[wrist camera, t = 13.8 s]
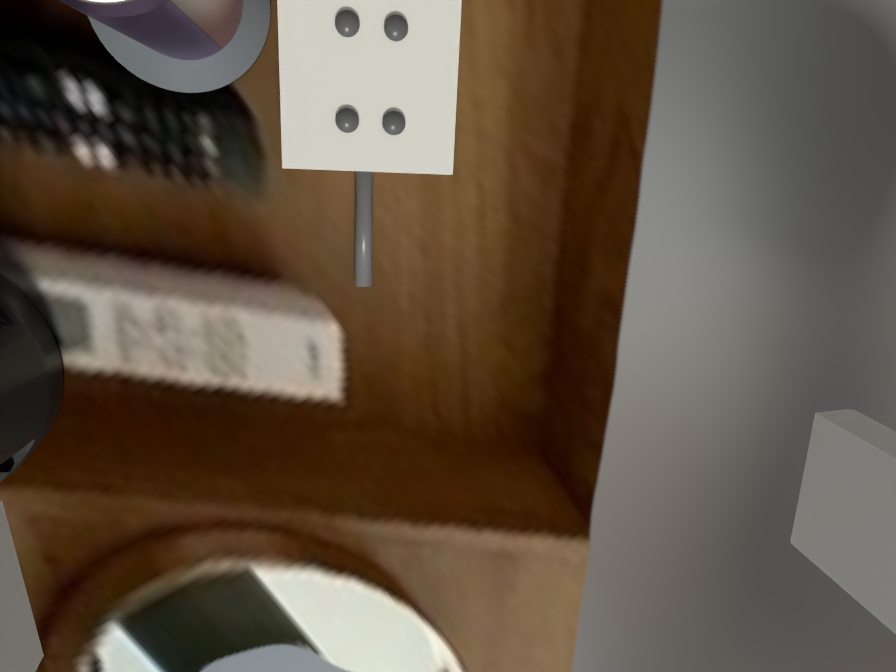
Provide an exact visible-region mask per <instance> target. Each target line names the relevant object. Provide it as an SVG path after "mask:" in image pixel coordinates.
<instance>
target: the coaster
mask: <svg viewBox="0 0 896 672" xmlns="http://www.w3.org/2000/svg"><path fill="white" fill-rule="evenodd" d="M88 17H89V16H88ZM270 19H271V5H270V0H243V9H242V17H241V21H240V24H239V27H238V29H237V32H236V33H235V35H234V37H233V38H232V40H231V41H230V42H229V43H228V44H227V45H226V46H225V47H224V48H223V49H222V50H220V51H219V52H217V53H216V54H214V55H212V56H210V57H207V58H203V59H199V60H179V59H174V58H170V57H167V56H165V55H162V54H160V53H158V52H156V51H154V50H152V49H150V48H148V47H147V46H145V45H143V44H141V43H139V42H137V41H135V40H133V39H131V38H129V37H128V36H126V35H124V34H122V33H120V32H118V31H116V30H114V29H112V28H110V27H108V26H107V25H105V24H103V23H101V22H99V21H97V20H95V19H93V18H91V17H89V20H90V22H91V24H92V27H93V29H94V30H95V32H96V34H97V36H98V37H99V39H100V41H101V42H102V43H103V45H104V46H105V47H106V49H107V50H108V51H109V52H110V53H111V55H112V56H113V57H114V58H115V59H116V60H117V61H118V62H119V63H120V64H122V65H123V66H124V67H125V68H126V69H127V70H129V71H130V72H132V73H133V74H135V75H136V76H137V77H139V78H141V79H143V80H145V81H147V82H148V83H150V84H153V85H156V86H158V87H161V88H164V89H168V90H172V91H176V92H184V93H202V92H209V91H213V90H216V89H220V88H222V87H225V86H227V85H229V84H231V83H233V82H234V81H236V80H237V79H239V78H240V77H241V76H243V75H244V74H245V73H246V72H247V71H248V70H249V69H250V68H251V67H252V65H253V64H254V63H255V62H256V60H257V58H258V57H259V55H260V54H261V52H262V49H263V47H264V45H265V43H266V39H267V36H268V33H269V26H270Z"/></svg>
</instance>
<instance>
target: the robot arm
mask: <svg viewBox="0 0 896 672" xmlns="http://www.w3.org/2000/svg"><path fill="white" fill-rule="evenodd" d="M62 394H63V369H62V363H61V357H60V354H59V350H58V347H57V345H56V342H55V339H54V337H53V335H52V333H51V331H50V329H49V327H48V325H47V323H46V322H45V320H44V319H43V317H42V316H41V314H40V313H39V311H38V310H37V309H36V308H35V306H34V305H33V304H32V303H31V302H30V300H29V299H28V298H27V297H26V296H25V295H24V294H23V293H22V292H21V291H20V290H19V289H18V288H17V287H16V286H14V285H13V284H12V283H11V282H10V281H9V280H7V279H6V278H5V277H3V276H2V275H1V274H0V482H1V481H3V480H4V479H5V478H7V477H8V476H9V475H11V474H12V473H13V472H14V471H16V470H17V469H18V468H19V467H20V466H21V465H22V464H23V463H24V462H25V461H26V460H27V459H28V457H29V456H30V455H31V454H32V453H33V452H34V450H35V449H36V448H37V447H38V446H39V444H40V443H41V442H42V441H43V440H44V438H45V437H46V435H47V434H48V432H49V431H50V429H51V427H52V426H53V424H54V421H55V419H56V417H57V414H58V412H59V408H60V405H61V400H62ZM790 543H791V544H792V545H794V546H795V547H796V548H797V549H798V550H799V551H800V552H802V553H803V554H804V555H805V556H806V557H807V558H808V559H810V560H811V561H812V562H813V563H814V564H815V565H817V566H818V567H819V568H820V569H821V570H822V571H824V572H825V573H826V574H827V575H828V576H829V577H830V578H831V579H833V580H834V581H835V582H836V583H837V584H839V585H840V586H841V587H842V588H843V589H844V590H845V591H847V592H848V593H849V594H850V595H851V596H852V597H853V598H855V599H856V600H857V601H858V602H859V603H860V604H861V605H863V606H864V607H865V608H866V609H867V610H869V611H870V612H871V613H872V614H873V615H874V616H875V617H876V618H878V619H879V620H880V621H881V622H882V623H883V624H885V625H886V626H887V627H888V628H889V629H890V630H891V631H893V632H894V633H895V634H896V432H895V431H893V430H891V429H889V428H888V427H886V426H884V425H882V424H880V423H878V422H876V421H874V420H872V419H870V418H868V417H866V416H865V415H863V414H861V413H859V412H857V411H855V410H853V409H848V410H839V411H829V412H819V413H815V418H814V423H813V428H812V434H811V438H810V443H809V449H808V454H807V459H806V464H805V469H804V474H803V479H802V485H801V490H800V495H799V501H798V505H797V510H796V516H795V521H794V526H793V532H792V536H791V541H790ZM43 656H44V655H43V652H42V648H41V644H40V641H39V637H38V633H37V629H36V626H35V622H34V618H33V614H32V611H31V607H30V603H29V599H28V596H27V592H26V588H25V585H24V581H23V577H22V573H21V570H20V566H19V562H18V558H17V555H16V551H15V547H14V544H13V540H12V536H11V532H10V529H9V525H8V521H7V517H6V514H5V510H4V506H3V503H2V501H0V672H35V671H36V669H37V667H38V665H39V663H40V661H41V659H42V658H43Z"/></svg>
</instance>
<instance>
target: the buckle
mask: <svg viewBox="0 0 896 672" xmlns="http://www.w3.org/2000/svg"><path fill="white" fill-rule="evenodd" d="M461 2H462V0H277V5H278V39H279V74H280V108H281V142H282V168H290V169H316V170H342V171H356V196H355V285H356V286H359V287H368V286H371V276H372V202H373V172H393V173H419V174H445V175H453V158H454V139H455V119H456V100H457V80H458V61H459V41H460V22H461Z"/></svg>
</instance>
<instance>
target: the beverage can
mask: <svg viewBox="0 0 896 672" xmlns="http://www.w3.org/2000/svg"><path fill="white" fill-rule="evenodd" d="M59 1H61V2H63V3H65V4H67V5H68V6H70V7H72V8H74V9H76V10H78V11H80V12H82V13H84V14H86V15H88V16H89V17H91V18H93V19H95V20H97V21H99V22H101V23H103V24H105V25H107V26H108V27H110V28H112V29H114V30H116V31H118V32H120V33H122V34H124V35H126V36H128V37H129V38H131V39H133V40H135V41H137V42H139V43H141V44H143V45H145V46H147V47H148V48H150V49H152V50H154V51H156V52H158V53H160V54H162V55H165V56H167V57H170V58H174V59H179V60H199V59H203V58H207V57H210V56H212V55H214V54H216V53H217V52H219V51H220V50H222V49H223V48H224V47H225V46H226V45H227V44H228V43H229V42H230V41H231V40H232V38H233V37H234V35H235V33H236V32H237V29H238V27H239V24H240V21H241V17H242V9H243V0H59Z"/></svg>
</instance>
